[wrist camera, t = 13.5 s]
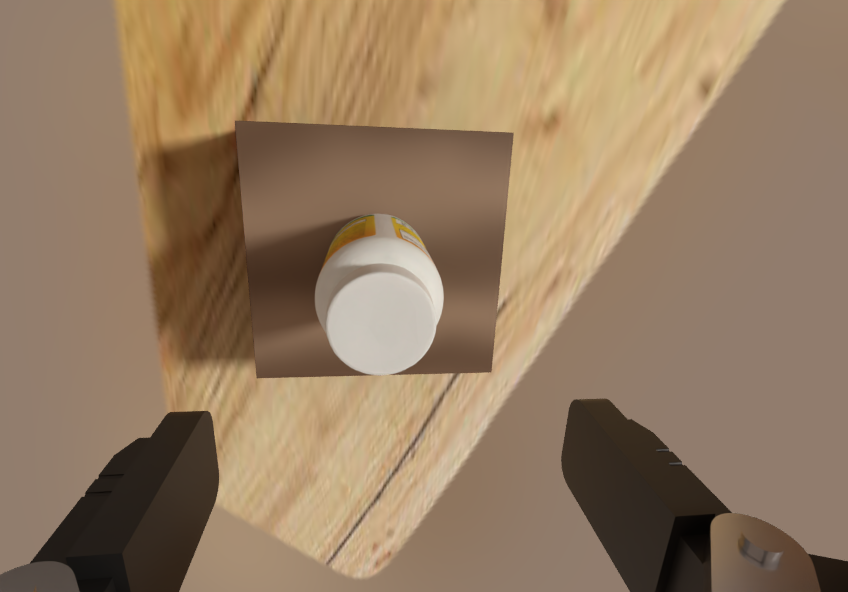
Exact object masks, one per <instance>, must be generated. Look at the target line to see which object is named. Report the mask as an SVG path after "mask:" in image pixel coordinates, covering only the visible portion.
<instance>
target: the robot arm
mask: <svg viewBox="0 0 848 592" xmlns="http://www.w3.org/2000/svg"><path fill="white" fill-rule="evenodd" d="M561 458H562V459H561V461H562V471H563V475H564V478H565V481H566V483H567V485H568V487H569V488H570V490H571V492H572V494H573V495H574V497H575V499H576V500H577V502H578V504H579V505H580V507H581V509H582V511H583V512H584V514H585V515H586V517H587V519H588V521H589V522H590V524H591V526H592V527H593V529H594V531H595V533H596V534H597V536H598V538H599V539H600V541H601V543H602V544H603V546H604V548H605V549H606V551H607V553H608V555H609V556H610V558H611V560H612V562H613V563H614V565H615V567H616V568H617V570H618V572H619V573H620V575H621V577H622V579H623V580H624V582H625V584H626V585H627V587H628V589H629V590H630V592H848V561H843V560H837V559H832V558H827V557H822V556H817V555H811V554H808V553H807V552H806V551H805V550H804V548H803V547H802V546H801V545H800V544H799V543H798V542H797V541H795V540H794V539H793V538H792V537H791V536H789V535H788V534H787V533H785V532H784V531H782V530H781V529H779V528H777V527H775V526H773V525H771V524H770V523H768V522H765V521H763V520H761V519H758V518H755V517H752V516H749V515H744V514H738V513H732V512H731V511H730V510H728V508H727V507H726V506H725V505H724V504H723V503H722V502H721V501H720V500H719V499H718V498H717V497H716V496H715V495H714V494H713V493H712V492H711V491H710V490H709V489H708V488H707V487H706V486H705V485H704V484H703V483H702V482H701V481H700V480H699V479H698V478H697V477H696V476H695V475H694V474H693V473H692V472H691V471H690V470H689V469H688V468H687V467H686V466H685V465H682V461H681V460H679V458H678V457H677V456H676V455H675V454H674V453H673V452H669V448H668V447H667V446H666V445H665V444H664V443H663V442H662V441H661V440H660V439H659V438H658V437H657V436H656V435H655V434H654V433H653V432H651V431H650V430H648V429H646V428H645V427H643V426H641V425H640V424H638V423H636V422H635V421H633V420H632V419H631V420H627V418H626V417H625V416H624V415H623V414H622V413H621V412H620V411H619V410H618V409H617V408H616V407H615V406H614V405H613V404H612V403H611V402H610V401H609V400H608V399H582V400H581V399H580V400H574V401H573V402H572V403H571V405H570V408H569V413H568V419H567V425H566V432H565V437H564V444H563V450H562V457H561ZM218 486H219V469H218V461H217V453H216V445H215V437H214V429H213V421H212V416H211V414H210V412H208V411H191V412H170V413H168V414H167V415H166V416H165V417H164V419H163V420H162V422H161V423H160V425H159V426H158V428H157V429H156V430H155V432H154V433H153V434H152V436H151V437H150V438H138V439H137V440H135V441H134V442H132V443H131V444H130V445H128V446H127V447H125V448H124V449H123V450H121V451H120V452H119V453H117V454H116V455H114V456H113V458H112V459H111V460H110V462H109V463H108V464H107V465H106V467H105V468H104V469H103V471H102V472H101V473H100V474H99V478H98V479H96V480H95V481H94V482H93V483H92V485H91V486H90V487H89V488H88V490H87V491H86V493H85V497H81V499H80V500H79V501H78V502H77V504H76V505H75V507H74V508H73V509H72V510H71V511H70V513H69V514H68V515H67V516H66V518H65V519H64V520H63V522H62V523H61V524H60V525H59V527H58V528H57V529H56V531H55V532H54V533H53V534H52V536H51V537H50V538H49V539H48V541H47V542H46V543H45V545H44V546H43V547H42V548H41V550H40V551H39V552H38V554H37V555H36V556H35V557H34V559H33V560H32V561H31V562H30V564H27V565H24V566H20V567H17V568H14V569H12V570H9V571H7V572H5V573H3V574H1V575H0V592H179V590H180V588H181V585H182V583H183V580H184V578H185V575H186V573H187V570H188V568H189V566H190V563H191V560H192V558H193V556H194V553H195V551H196V548H197V546H198V543H199V541H200V538H201V536H202V534H203V531H204V528H205V526H206V523H207V521H208V519H209V516H210V514H211V511H212V509H213V506H214V504H215V501H216V497H217V492H218Z"/></svg>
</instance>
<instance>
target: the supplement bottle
mask: <svg viewBox="0 0 848 592" xmlns="http://www.w3.org/2000/svg"><path fill="white" fill-rule="evenodd" d="M443 301H444V293H443V286H442V281H441V278H440V275H439V273H438V271H437V268H436V266H435V264H434V262H433V261H432V259H431V257H430V255H429V253H428V252H427V250H426V248H425V246H424V244H423V242H422V240H421V238H420V237H419V235H418V234H417V233H416V231H415V230H414V229H413V228H412V227H411V226H410V225H408V224H407V223H406V222H404V221H403V220H401V219H399V218H397V217H394V216H391V215H387V214H368V215H364V216H361V217H358V218H356V219H354V220H352V221H351V222H349V223H348V224H346V225H345V226H344V227H343V228H342V229H341V230H340V231H339V232H338V233H337V234H336V236H335V237H334V239H333V241H332V243H331V245H330V247H329V250H328V253H327V256H326V259H325V261H324V264H323V266H322V269H321V272H320V274H319V277H318V280H317V284H316V289H315V308H316V313H317V316H318V319H319V322H320V324H321V326H322V328H323V329H324V331H325V332H326V335H327V338H328V341H329V344H330V346H331V348H332V350H333V351H334V353H335V354H336V355H337V356H338V358H339V359H340V360H341V361H342V362H344V363H345V364H346V365H348V366H349V367H350V368H352V369H354V370H356V371H359V372H362V373H365V374H370V375H390V374H395V373H398V372H401V371H403V370H406V369H407V368H409V367H411V366H413V365H414V364H416V363H417V362H418V361H419V360H420V359H421V358H422V357H423V356H424V355H425V354H426V352H427V351H428V349H429V348H430V346H431V344H432V342H433V339H434V336H435V332H436V326H437V324H438V322H439V319H440V316H441V313H442V309H443Z"/></svg>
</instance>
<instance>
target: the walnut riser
mask: <svg viewBox="0 0 848 592" xmlns="http://www.w3.org/2000/svg"><path fill="white" fill-rule="evenodd" d="M235 130H236V141H237V153H238V165H239V176H240V188H241V200H242V212H243V223H244V235H245V247H246V258H247V270H248V282H249V293H250V305H251V317H252V328H253V340H254V352H255V363H256V375H257V378H282V377H322V376H362V375H370V374H365V373H362V372H359V371H356V370H354V369H352V368H350V367H349V366H348V365H346V364H345V363H344V362H342V361H341V360H340V359H339V358H338V356H337V355H336V354H335V353H334V351H333V350H332V348H331V346H330V344H329V341H328V338H327V335H326V332H325V331H324V329H323V328H322V326H321V324H320V322H319V319H318V316H317V313H316V308H315V289H316V284H317V280H318V277H319V274H320V272H321V269H322V266H323V264H324V261H325V259H326V256H327V253H328V250H329V247H330V245H331V243H332V241H333V239H334V237H335V236H336V234H337V233H338V232H339V231H340V230H341V229H342V228H343V227H344V226H345V225H346V224H348V223H349V222H351V221H352V220H354V219H356V218H358V217H361V216H364V215H368V214H387V215H391V216H394V217H397V218H399V219H401V220H403V221H404V222H406V223H407V224H408V225H410V226H411V227H412V228H413V229H414V230H415V231H416V233H417V234H418V235H419V237H420V238H421V240H422V242H423V244H424V246H425V248H426V250H427V252H428V253H429V255H430V257H431V259H432V261H433V262H434V264H435V266H436V268H437V271H438V273H439V275H440V278H441V281H442V286H443V293H444V301H443V309H442V313H441V316H440V319H439V322H438V324H437V326H436V332H435V336H434V339H433V342H432V344H431V346H430V348H429V349H428V351H427V352H426V354H425V355H424V356H423V357H422V358H421V359H420V360H419V361H418V362H417V363H416V364H414V365H413V366H411V367H409V368H407V369H406V370H403V371H401V372H398V373H395V374H390V375H402V374H442V373H482V372H491V370H492V359H493V349H494V338H495V327H496V316H497V306H498V295H499V284H500V273H501V263H502V252H503V241H504V230H505V220H506V209H507V198H508V187H509V177H510V166H511V155H512V144H513V133H506V132H483V131H460V130H437V129H414V128H392V127H369V126H346V125H323V124H300V123H277V122H254V121H235Z"/></svg>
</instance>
